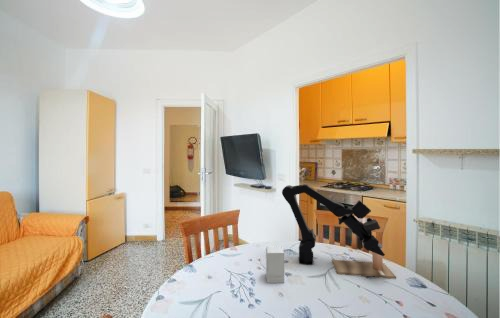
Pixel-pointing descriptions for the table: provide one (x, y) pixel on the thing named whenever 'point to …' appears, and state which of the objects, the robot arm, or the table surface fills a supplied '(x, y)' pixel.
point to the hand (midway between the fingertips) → (381, 251)
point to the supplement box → (275, 264)
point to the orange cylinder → (377, 260)
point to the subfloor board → (361, 269)
